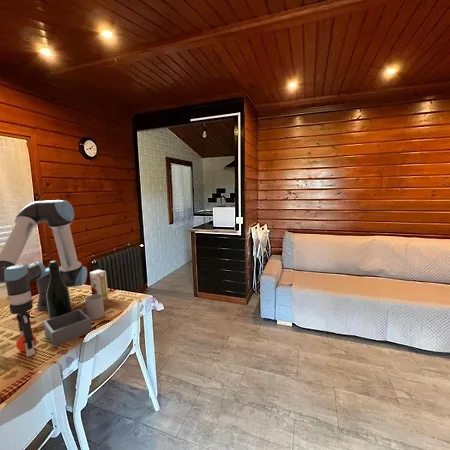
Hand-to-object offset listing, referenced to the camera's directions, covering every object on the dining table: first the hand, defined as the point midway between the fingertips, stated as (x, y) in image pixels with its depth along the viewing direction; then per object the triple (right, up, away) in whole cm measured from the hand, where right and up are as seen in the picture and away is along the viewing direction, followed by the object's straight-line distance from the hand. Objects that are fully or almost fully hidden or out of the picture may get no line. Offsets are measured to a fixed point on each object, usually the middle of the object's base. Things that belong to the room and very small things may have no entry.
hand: (28, 349), depth 110 cm
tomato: (0, 0, 0) cm, 0 cm away
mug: (+15, +4, +30) cm, 34 cm away
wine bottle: (-1, +3, +25) cm, 25 cm away
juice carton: (+8, +7, +49) cm, 50 cm away
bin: (+10, +2, +13) cm, 16 cm away
